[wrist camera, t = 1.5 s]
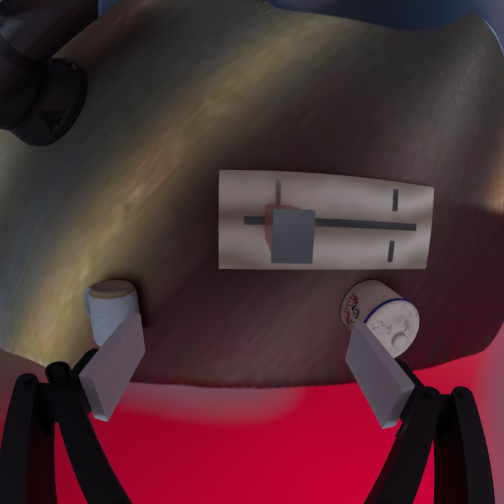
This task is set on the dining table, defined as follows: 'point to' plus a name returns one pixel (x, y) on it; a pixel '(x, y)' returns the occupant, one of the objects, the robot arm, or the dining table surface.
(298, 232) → the fader tab
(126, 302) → the ceramic mug
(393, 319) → the teacup with lid
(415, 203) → the panel
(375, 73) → the dining table surface
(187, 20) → the dining table surface
